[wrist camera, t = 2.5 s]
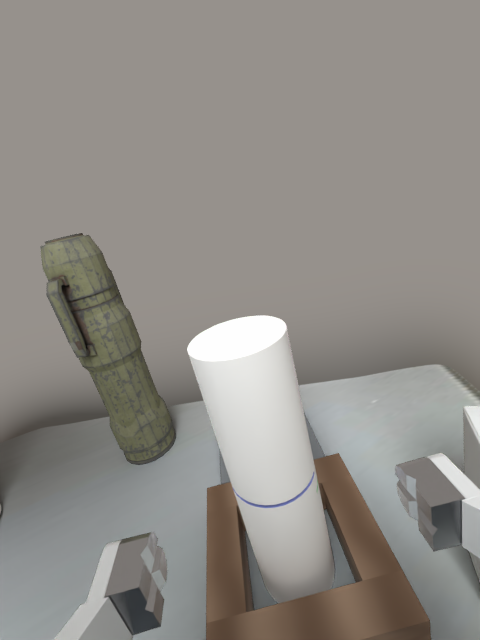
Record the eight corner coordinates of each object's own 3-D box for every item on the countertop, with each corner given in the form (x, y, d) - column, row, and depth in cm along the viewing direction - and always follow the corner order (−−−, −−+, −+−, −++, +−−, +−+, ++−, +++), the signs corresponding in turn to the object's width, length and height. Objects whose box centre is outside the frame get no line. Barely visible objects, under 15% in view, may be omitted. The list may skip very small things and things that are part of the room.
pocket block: (220, 710, 23) (205, 682, 21) (216, 512, 38) (207, 488, 36) (431, 652, 23) (429, 620, 21) (342, 478, 38) (338, 453, 37)
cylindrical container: (247, 583, 30) (166, 356, 21) (281, 518, 35) (226, 315, 27) (318, 629, 25) (251, 367, 17) (345, 547, 31) (303, 315, 22)
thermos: (183, 417, 58) (114, 226, 46) (165, 468, 46) (68, 234, 35) (139, 424, 59) (61, 240, 47) (112, 475, 48) (0, 251, 36)
